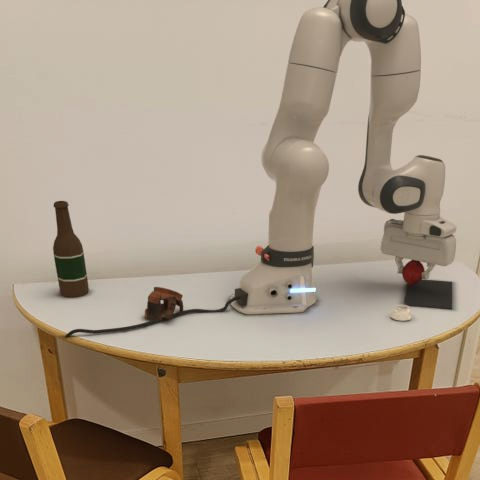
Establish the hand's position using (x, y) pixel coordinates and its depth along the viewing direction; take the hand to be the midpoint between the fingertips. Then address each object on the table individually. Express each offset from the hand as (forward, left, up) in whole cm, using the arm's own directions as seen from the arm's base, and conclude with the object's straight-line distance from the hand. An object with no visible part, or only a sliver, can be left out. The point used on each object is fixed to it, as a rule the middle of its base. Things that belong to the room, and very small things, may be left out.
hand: (413, 275), depth 163 cm
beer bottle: (-89, +24, -4) cm, 93 cm away
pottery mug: (-68, -1, -4) cm, 68 cm away
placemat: (+3, -5, -4) cm, 7 cm away
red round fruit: (0, 0, -3) cm, 3 cm away
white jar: (-13, -19, -4) cm, 23 cm away
